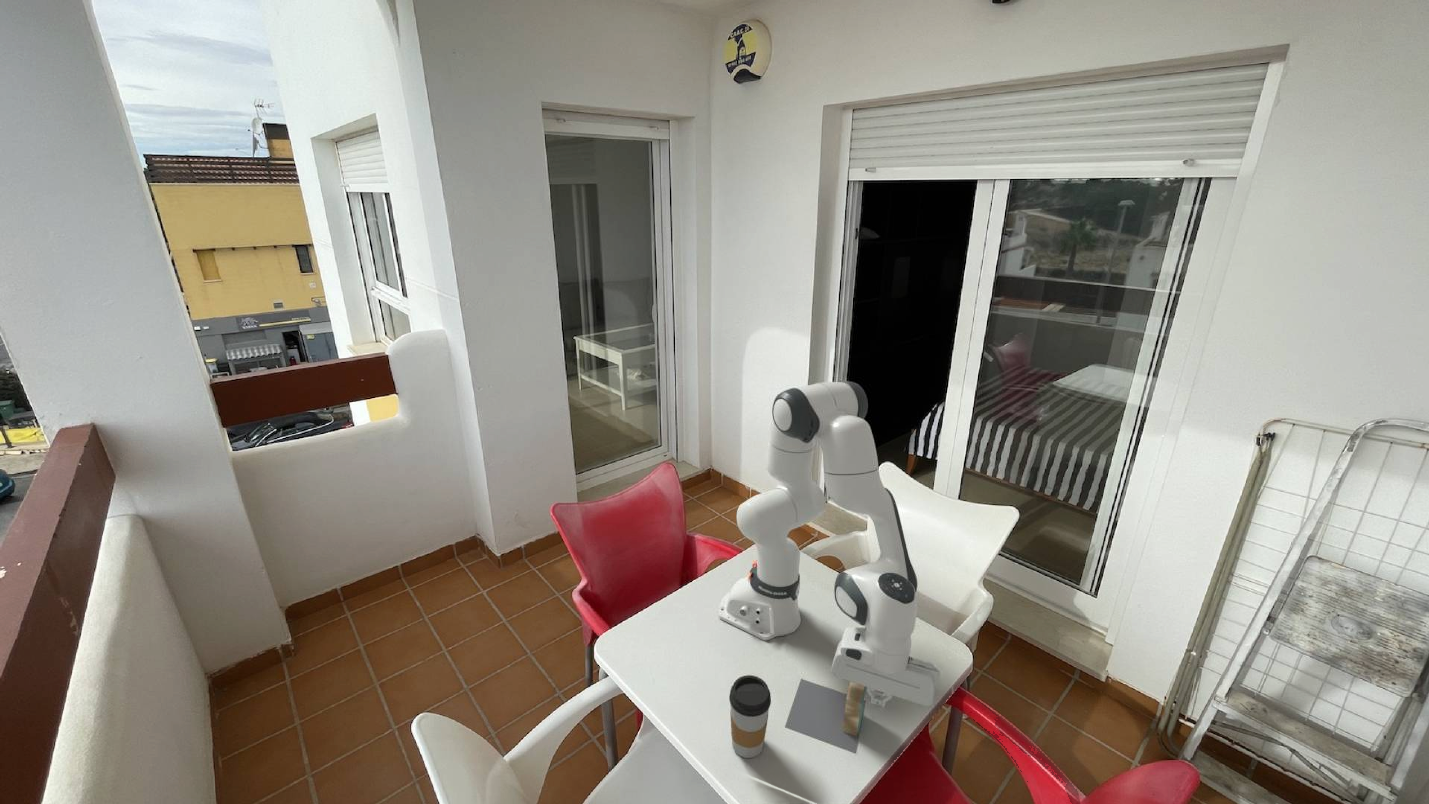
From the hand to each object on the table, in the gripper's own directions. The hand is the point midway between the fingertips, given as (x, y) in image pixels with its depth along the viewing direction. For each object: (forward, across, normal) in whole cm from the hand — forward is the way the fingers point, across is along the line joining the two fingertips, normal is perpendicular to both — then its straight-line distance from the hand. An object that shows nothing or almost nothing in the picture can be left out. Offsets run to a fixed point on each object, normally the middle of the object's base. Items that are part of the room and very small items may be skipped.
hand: (877, 702), depth 114 cm
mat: (+8, +10, 0) cm, 13 cm away
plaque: (+8, +4, 0) cm, 9 cm away
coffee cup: (+8, +24, +14) cm, 29 cm away
